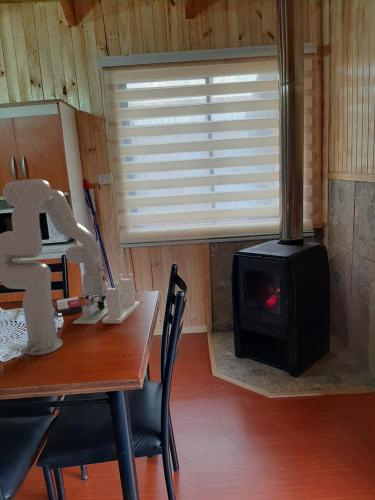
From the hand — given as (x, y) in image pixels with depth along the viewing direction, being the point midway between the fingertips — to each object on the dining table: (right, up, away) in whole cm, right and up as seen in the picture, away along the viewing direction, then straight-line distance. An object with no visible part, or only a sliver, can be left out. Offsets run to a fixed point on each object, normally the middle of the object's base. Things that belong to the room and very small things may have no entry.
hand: (97, 309), depth 163 cm
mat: (0, -2, 0) cm, 2 cm away
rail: (0, +1, 0) cm, 1 cm away
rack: (+12, -1, -2) cm, 12 cm away
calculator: (-16, -2, +9) cm, 18 cm away
